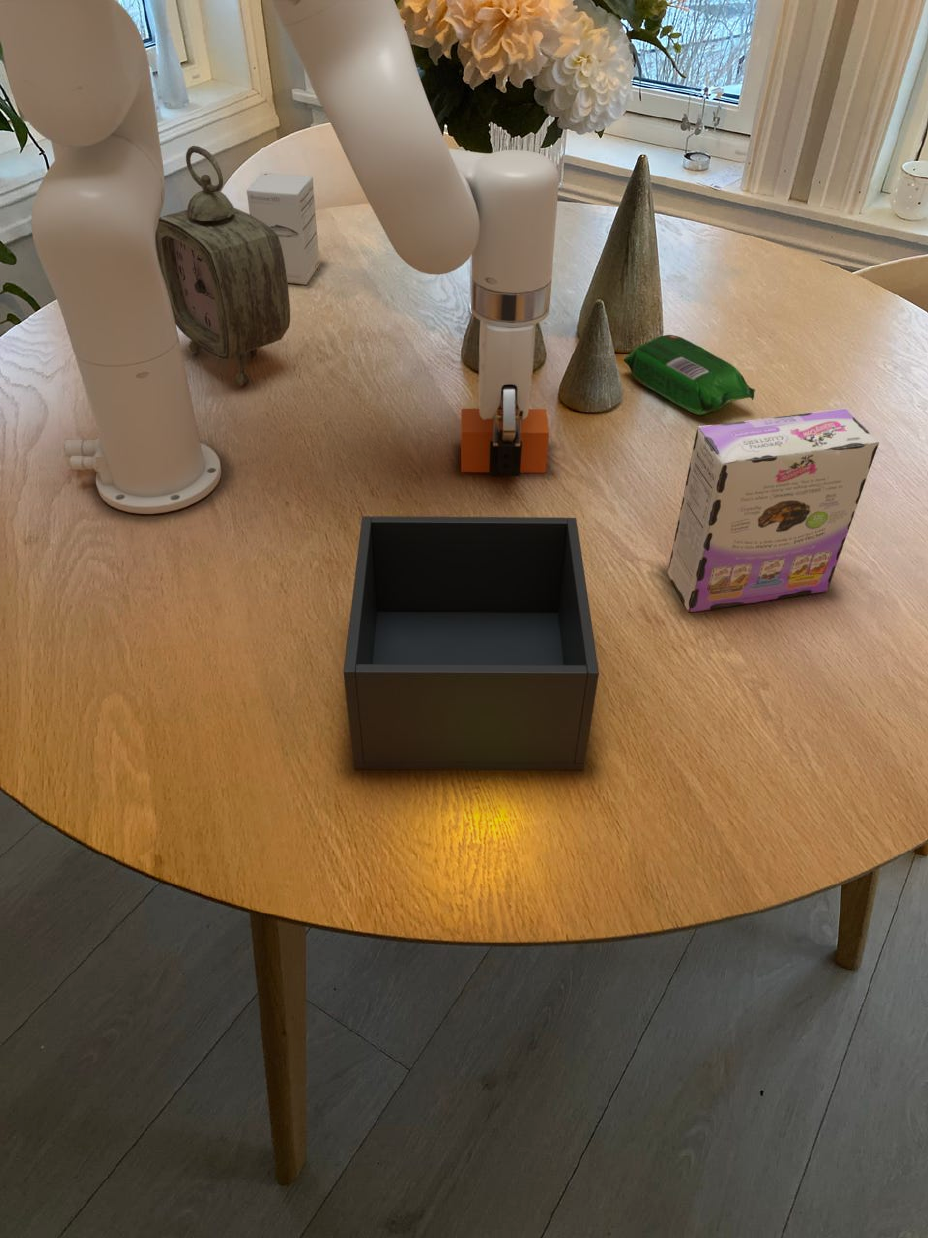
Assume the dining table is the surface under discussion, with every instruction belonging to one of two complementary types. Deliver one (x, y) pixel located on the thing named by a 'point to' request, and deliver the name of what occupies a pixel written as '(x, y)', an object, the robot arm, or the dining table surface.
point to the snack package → (687, 374)
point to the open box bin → (470, 645)
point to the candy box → (768, 507)
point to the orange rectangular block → (481, 433)
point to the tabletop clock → (223, 274)
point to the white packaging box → (289, 220)
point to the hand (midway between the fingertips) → (503, 452)
